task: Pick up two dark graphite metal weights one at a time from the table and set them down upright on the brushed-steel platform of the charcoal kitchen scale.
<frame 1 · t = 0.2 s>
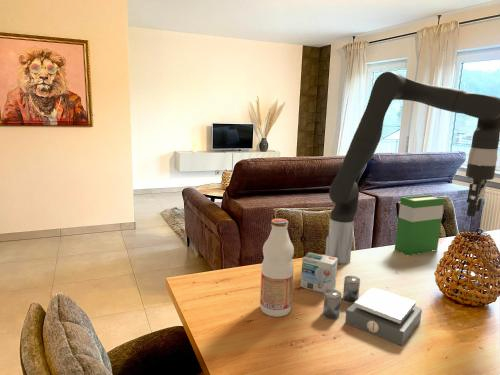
hand: (473, 213, 119), 29 cm above the table, tool pointing down, fingers open, 8 cm apart
fruit juice: (275, 309, 113), on the table
weight 1: (350, 298, 121), on the table
light bulb box: (317, 287, 129), on the table
weight 2: (331, 314, 111), on the table
platform: (385, 303, 107), point 6 cm above the table, slide at 0.5 cm
scale: (383, 321, 109), on the table
green cereal box: (415, 250, 167), on the table
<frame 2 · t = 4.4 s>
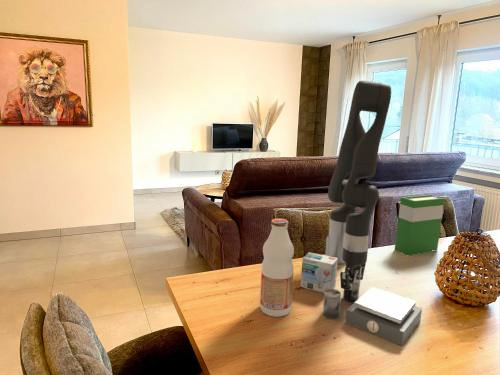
hand: (350, 296, 121), 1 cm above the table, tool pointing down, fingers closed on weight 1, 4 cm apart
weight 1: (350, 298, 121), on the table, touching gripper
everything else where it was.
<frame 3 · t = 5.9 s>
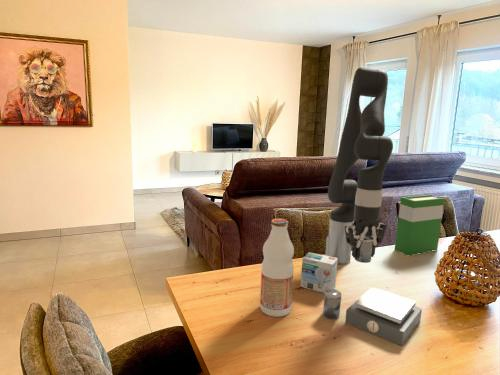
hand: (362, 256, 115), 16 cm above the table, tool pointing down, fingers closed on weight 1, 4 cm apart
weight 1: (362, 259, 115), point 15 cm above the table, touching gripper
everything else where it was.
when the fingers open (8 cm above the table, at t = 7.8 s): weight 1 drops 2 cm, resting on platform.
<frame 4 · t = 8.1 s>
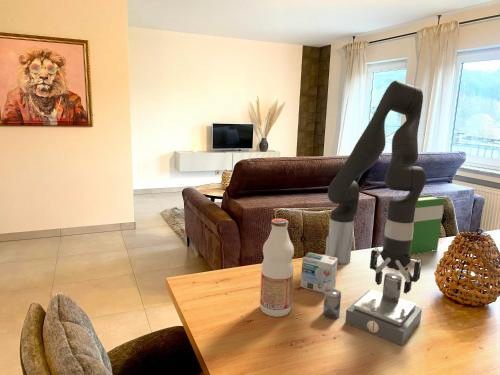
hand: (392, 288, 110), 9 cm above the table, tool pointing down, fingers open, 7 cm apart
weight 1: (390, 298, 111), point 6 cm above the table, touching platform
platform: (384, 306, 108), point 5 cm above the table, slide at 1.2 cm, touching scale, weight 1
everything else where it was.
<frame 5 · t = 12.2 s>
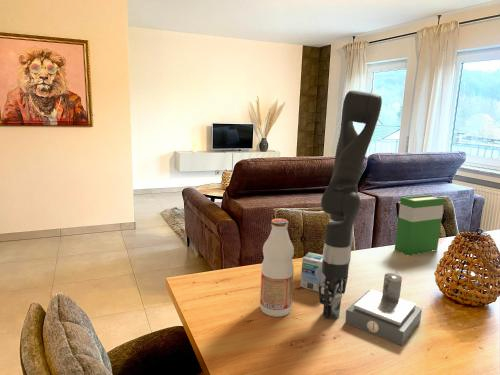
hand: (331, 311, 111), 1 cm above the table, tool pointing down, fingers closed on weight 2, 4 cm apart
weight 2: (331, 314, 111), on the table, touching gripper
everything else where it was.
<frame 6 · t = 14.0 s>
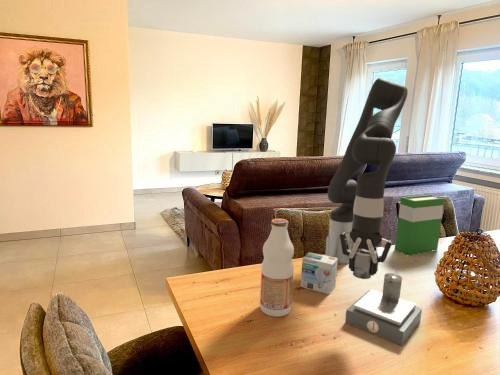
hand: (362, 272, 103), 16 cm above the table, tool pointing down, fingers closed on weight 2, 4 cm apart
weight 2: (361, 275, 103), point 15 cm above the table, touching gripper
everything else where it was.
when the fingers open (8 cm above the table, at t = 15.7 s): weight 2 drops 2 cm, resting on platform.
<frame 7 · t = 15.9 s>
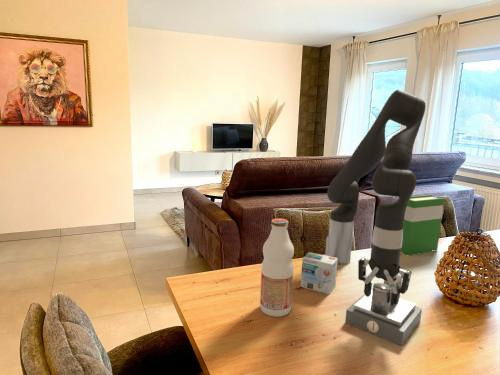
hand: (380, 299, 103), 9 cm above the table, tool pointing down, fingers open, 6 cm apart
weight 2: (379, 310, 104), point 6 cm above the table, touching platform
platform: (384, 306, 108), point 5 cm above the table, slide at 1.2 cm, touching scale, weight 1, weight 2
everything else where it was.
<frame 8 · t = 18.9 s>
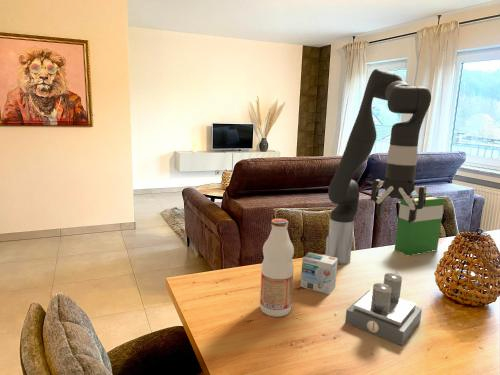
hand: (394, 219, 105), 30 cm above the table, tool pointing down, fingers open, 8 cm apart
nothing on the table moved.
at the end: weight 1 inside the target area on the scale (4.5 cm from its centre), point 5.5 cm above the scale's base; weight 2 inside the target area on the scale (4.4 cm from its centre), point 5.5 cm above the scale's base; weight 2 tilted 0° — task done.
